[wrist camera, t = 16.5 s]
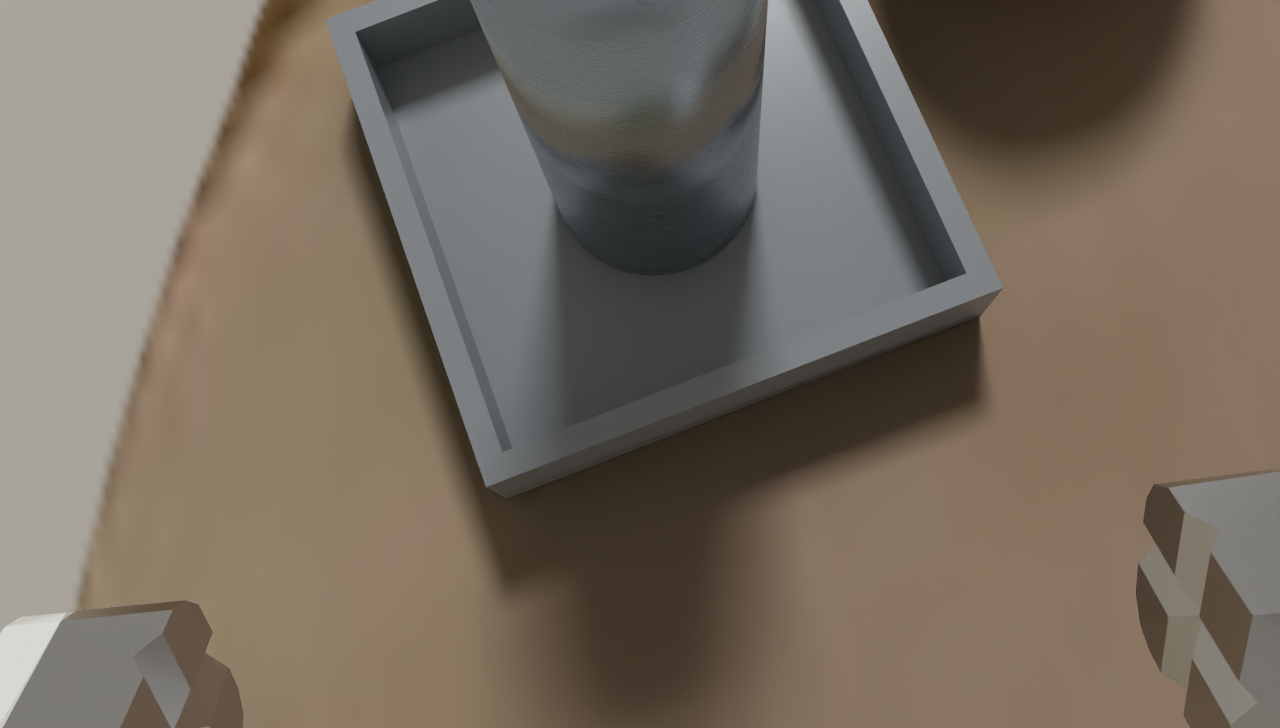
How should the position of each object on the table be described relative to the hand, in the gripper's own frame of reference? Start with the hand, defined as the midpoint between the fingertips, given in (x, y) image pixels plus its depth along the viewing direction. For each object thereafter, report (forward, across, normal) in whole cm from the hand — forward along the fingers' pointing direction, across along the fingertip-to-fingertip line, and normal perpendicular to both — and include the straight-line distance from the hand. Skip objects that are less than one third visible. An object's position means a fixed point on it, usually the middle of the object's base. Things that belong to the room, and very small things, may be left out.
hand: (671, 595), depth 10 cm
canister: (+19, 0, +4) cm, 20 cm away
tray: (+20, 0, +5) cm, 20 cm away
